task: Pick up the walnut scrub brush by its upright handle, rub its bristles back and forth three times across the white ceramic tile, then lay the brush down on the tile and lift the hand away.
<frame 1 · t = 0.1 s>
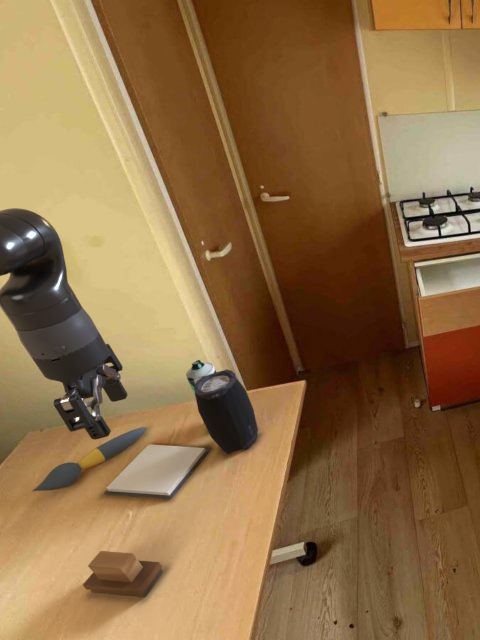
hand: (111, 416, 71), 31 cm above the table, tool pointing down, fingers open, 8 cm apart
scrub brush: (128, 582, 76), on the table
paintbrush: (98, 463, 97), on the table
spray can: (223, 423, 107), on the table
portable speaker: (240, 441, 102), on the table
tile: (160, 471, 95), on the table
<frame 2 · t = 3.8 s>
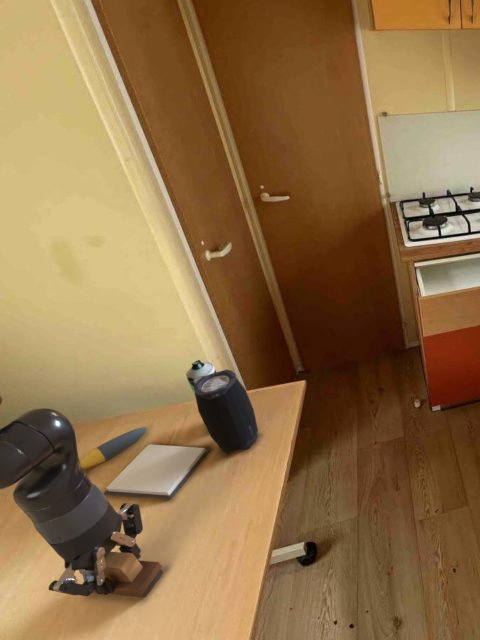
hand: (121, 574, 74), 3 cm above the table, tool pointing down, fingers closed on scrub brush, 4 cm apart
scrub brush: (128, 582, 76), on the table, touching gripper
everything else where it was.
when the fingers open (4 cm above the table, at t = 16.3 s): scrub brush stays where it is, resting on tile.
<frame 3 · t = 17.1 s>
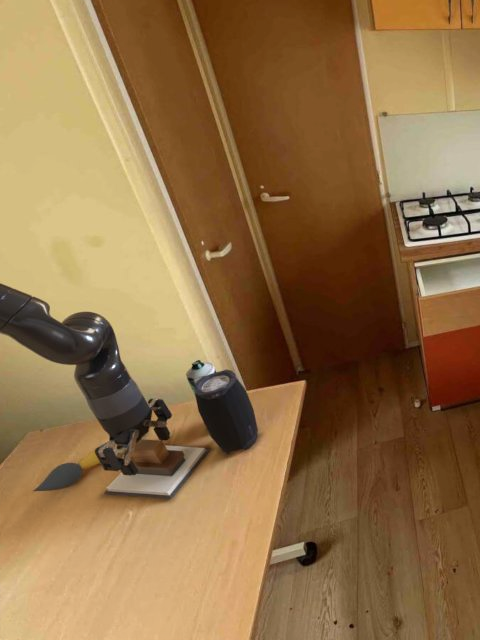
hand: (149, 455, 92), 6 cm above the table, tool pointing down, fingers open, 8 cm apart
scrub brush: (157, 466, 94), point 1 cm above the table, touching tile
everything else where it was.
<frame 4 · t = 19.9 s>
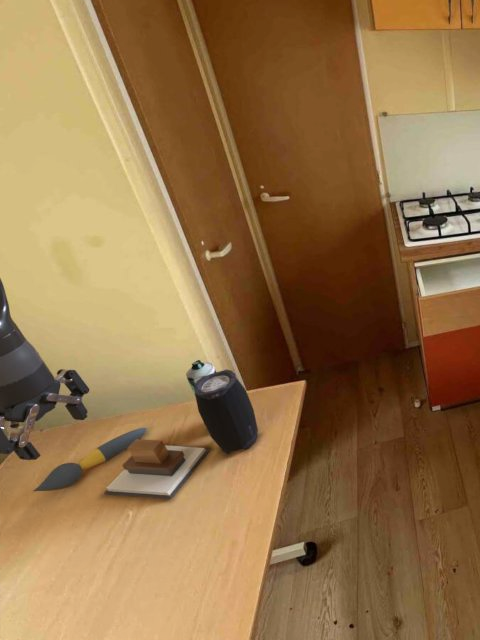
hand: (58, 437, 77), 22 cm above the table, tool pointing down, fingers open, 8 cm apart
nothing on the table moved.
at the end: scrub brush inside the target area on the tile (0.1 cm from its centre), point 1.5 cm above the tile's base; scrub brush moved 24.3 cm from its start; the gripper is holding nothing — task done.
